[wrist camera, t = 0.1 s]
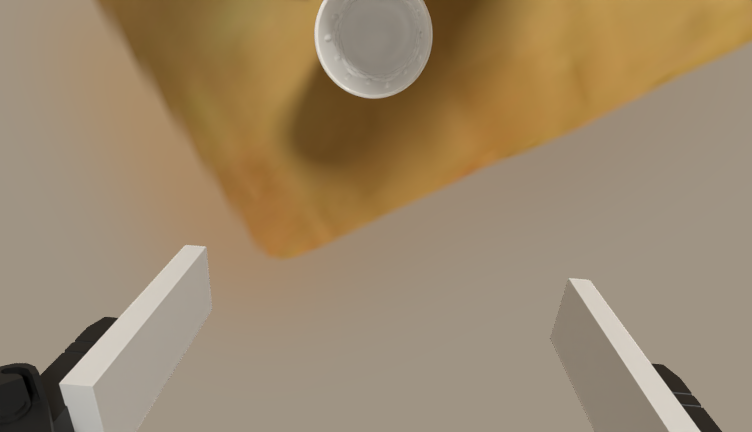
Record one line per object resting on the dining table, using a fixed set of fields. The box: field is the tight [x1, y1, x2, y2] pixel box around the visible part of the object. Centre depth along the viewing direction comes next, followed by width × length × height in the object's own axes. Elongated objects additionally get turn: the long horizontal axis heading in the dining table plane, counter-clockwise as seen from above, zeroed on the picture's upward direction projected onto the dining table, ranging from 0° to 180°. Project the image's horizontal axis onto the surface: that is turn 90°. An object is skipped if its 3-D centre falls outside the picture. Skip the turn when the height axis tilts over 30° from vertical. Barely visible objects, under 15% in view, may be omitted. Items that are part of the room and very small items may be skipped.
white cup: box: [314, 0, 433, 99], centre depth 34 cm, size 8×8×10 cm
